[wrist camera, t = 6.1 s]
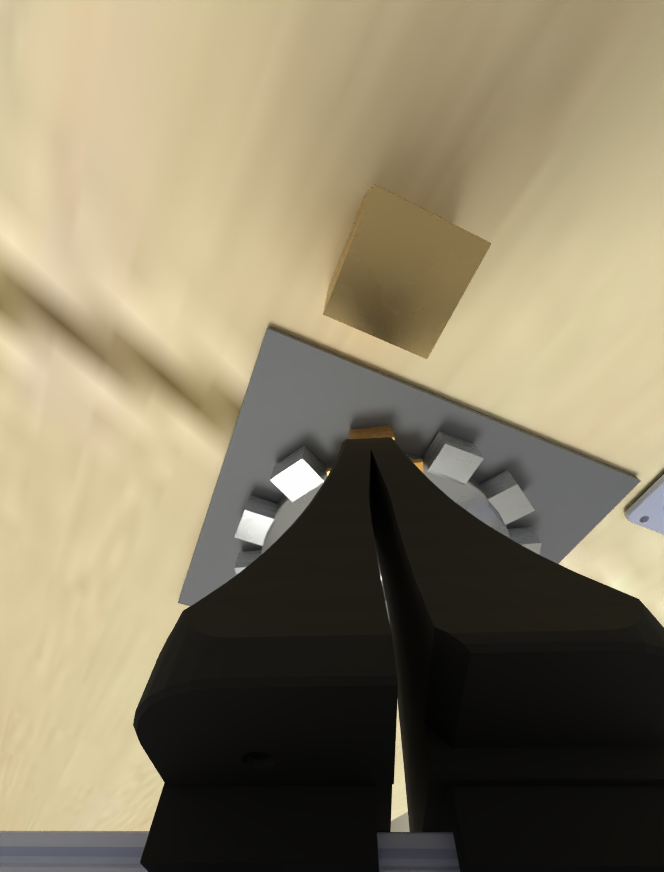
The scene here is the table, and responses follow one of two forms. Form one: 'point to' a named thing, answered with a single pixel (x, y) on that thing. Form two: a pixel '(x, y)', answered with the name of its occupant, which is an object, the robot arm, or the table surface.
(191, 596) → the plate
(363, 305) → the brushed gold block
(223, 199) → the table surface
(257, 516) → the sprocket
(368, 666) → the robot arm
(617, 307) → the table surface
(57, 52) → the table surface
